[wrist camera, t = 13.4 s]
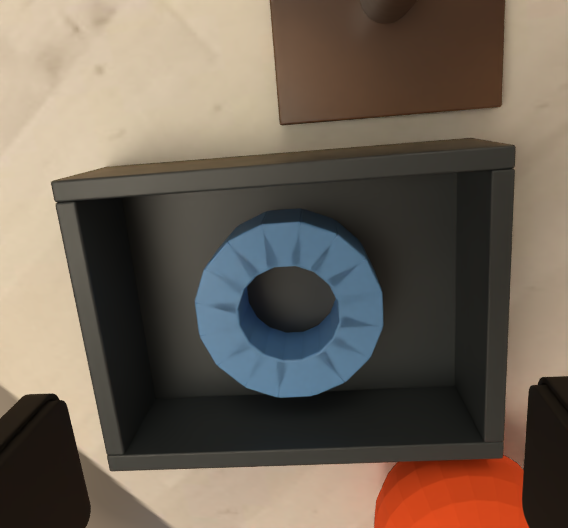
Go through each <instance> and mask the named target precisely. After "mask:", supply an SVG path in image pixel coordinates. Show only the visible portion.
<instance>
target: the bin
mask: <svg viewBox="0 0 568 528" xmlns="http://www.w3.org/2000/svg"><path fill="white" fill-rule="evenodd" d="M514 166H515V145H510V144H504V143H498V142H492V141H486V140H480V139H474V138H464V139H452V140H439V141H426V142H414V143H401V144H389V145H376V146H364V147H351V148H338V149H326V150H313V151H301V152H288V153H275V154H263V155H250V156H238V157H225V158H213V159H200V160H187V161H175V162H162V163H150V164H137V165H124V166H112V167H104V168H100V169H96V170H93V171H89V172H85V173H81V174H77V175H73V176H69V177H66V178H62V179H58V180H54V181H52V182H51V185H52V190H53V195H54V200H55V202H58V203H56V210H57V214H58V219H59V224H60V229H61V234H62V239H63V244H64V249H65V253H66V258H67V263H68V268H69V273H70V278H71V283H72V287H73V292H74V297H75V302H76V307H77V312H78V317H79V322H80V326H81V331H82V336H83V341H84V346H85V351H86V356H87V360H88V365H89V370H90V375H91V380H92V385H93V390H94V395H95V399H96V404H97V409H98V414H99V419H100V424H101V429H102V433H103V438H104V443H105V448H106V453H107V459H108V464H109V468H110V471H133V470H164V469H195V468H226V467H256V466H287V465H318V464H349V463H380V462H411V461H441V460H472V459H502V458H503V445H504V443H503V441H504V421H505V397H506V372H507V348H508V324H509V299H510V275H511V251H512V226H513V202H514V178H515V170H514V169H512V168H514ZM299 208H301V209H305V210H308V211H311V212H314V213H317V214H320V215H323V216H326V217H329V218H332V219H334V220H336V221H337V222H339V223H340V224H341V225H342V226H343V227H344V228H346V229H347V230H348V231H349V232H350V233H351V234H353V235H354V236H355V237H356V238H357V239H358V240H359V241H360V242H361V243H362V245H363V247H364V250H365V252H366V254H367V256H368V258H369V260H370V262H371V264H372V266H373V268H374V270H375V273H376V276H377V278H378V281H379V284H380V286H381V289H382V292H383V322H384V325H383V329H382V331H381V334H380V336H379V339H378V341H377V344H376V346H375V348H374V351H373V353H372V356H371V357H370V358H369V360H368V361H367V362H366V363H365V364H364V365H363V366H362V367H361V368H360V369H359V370H358V371H357V372H356V373H355V374H354V375H353V376H352V377H351V378H350V379H349V380H348V381H346V382H344V383H343V384H341V385H338V386H336V387H334V388H331V389H329V390H327V391H324V392H322V393H320V394H317V395H313V396H308V397H284V398H279V397H274V396H270V395H267V394H264V393H261V392H258V391H255V390H251V389H248V388H246V387H245V386H243V385H241V384H240V383H239V382H237V381H236V380H235V379H234V378H232V377H231V376H230V375H228V374H227V373H226V372H225V371H223V370H222V369H221V368H219V367H218V365H216V364H215V362H214V360H213V358H212V357H211V355H210V353H209V352H208V350H207V348H206V347H205V345H204V343H203V342H202V340H201V338H200V335H199V330H198V323H197V316H196V309H195V298H196V294H197V291H198V287H199V284H200V280H201V277H202V273H203V270H204V268H205V267H206V265H207V264H208V262H209V261H210V260H211V258H212V257H213V255H214V254H215V252H216V251H217V250H218V248H219V247H220V246H221V245H222V244H223V243H224V241H225V240H226V239H227V238H228V237H229V235H230V234H231V233H232V232H233V231H234V229H235V228H236V227H238V226H239V225H240V224H242V223H244V222H246V221H248V220H250V219H252V218H254V217H256V216H258V215H260V214H262V213H264V212H266V211H271V210H285V209H299ZM247 291H248V300H249V304H250V305H251V307H252V309H253V311H254V313H255V314H256V316H257V318H259V319H260V320H261V321H262V322H264V323H265V324H266V325H267V326H269V327H270V328H274V329H277V330H280V331H283V332H286V333H290V332H304V331H306V330H309V329H311V328H313V327H315V326H318V325H319V324H320V323H321V322H322V321H323V320H324V319H325V318H326V317H327V316H328V315H329V314H330V312H331V309H332V307H333V304H334V301H335V299H336V298H335V296H334V294H333V292H332V290H331V288H330V286H329V284H327V283H326V282H325V281H324V280H323V279H321V278H320V277H319V276H318V275H317V274H315V273H314V272H312V271H309V270H306V269H303V268H300V267H297V266H288V267H274V268H272V269H270V270H268V271H266V272H264V273H262V274H259V275H257V276H256V277H255V278H254V279H253V281H252V282H251V283H250V284H249V285H248V286H247Z"/></svg>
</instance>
